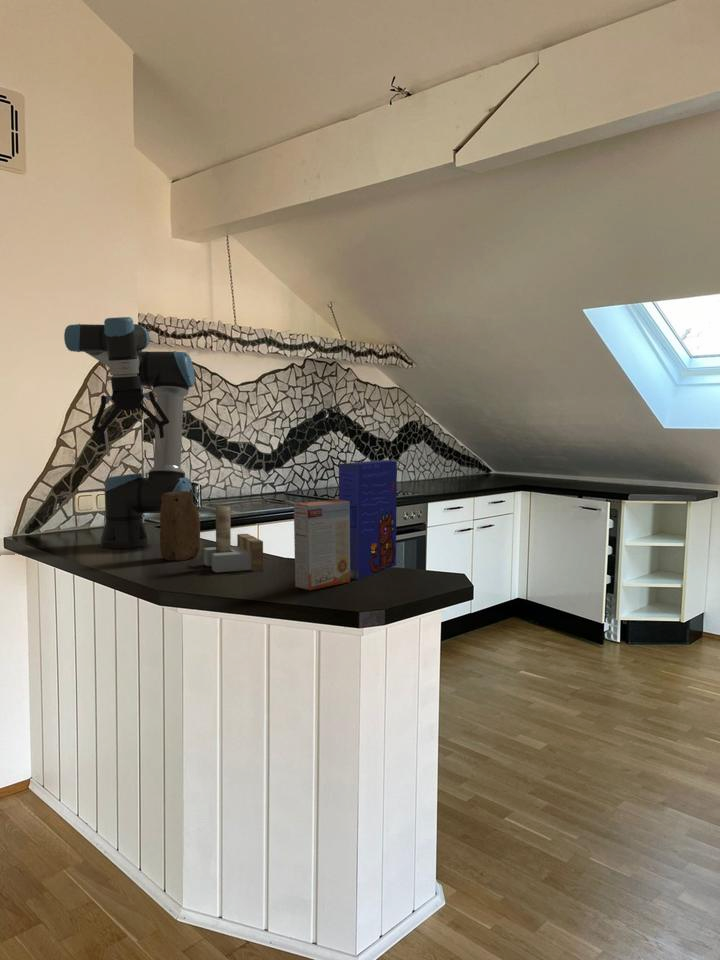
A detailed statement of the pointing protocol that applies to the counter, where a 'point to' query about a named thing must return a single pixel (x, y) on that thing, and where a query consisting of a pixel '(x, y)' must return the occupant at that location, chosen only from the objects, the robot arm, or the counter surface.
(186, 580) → the counter surface
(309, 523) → the cracker box
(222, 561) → the block
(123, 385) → the robot arm
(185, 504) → the block
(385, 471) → the cereal box
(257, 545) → the wall
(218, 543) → the dowel
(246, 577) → the counter surface
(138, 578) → the counter surface
